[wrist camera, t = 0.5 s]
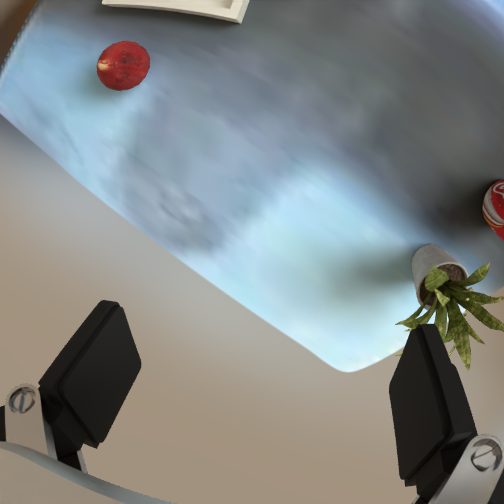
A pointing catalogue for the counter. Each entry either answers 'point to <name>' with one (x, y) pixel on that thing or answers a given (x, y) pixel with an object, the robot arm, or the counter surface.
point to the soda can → (495, 208)
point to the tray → (191, 7)
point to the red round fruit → (123, 65)
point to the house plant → (449, 298)
